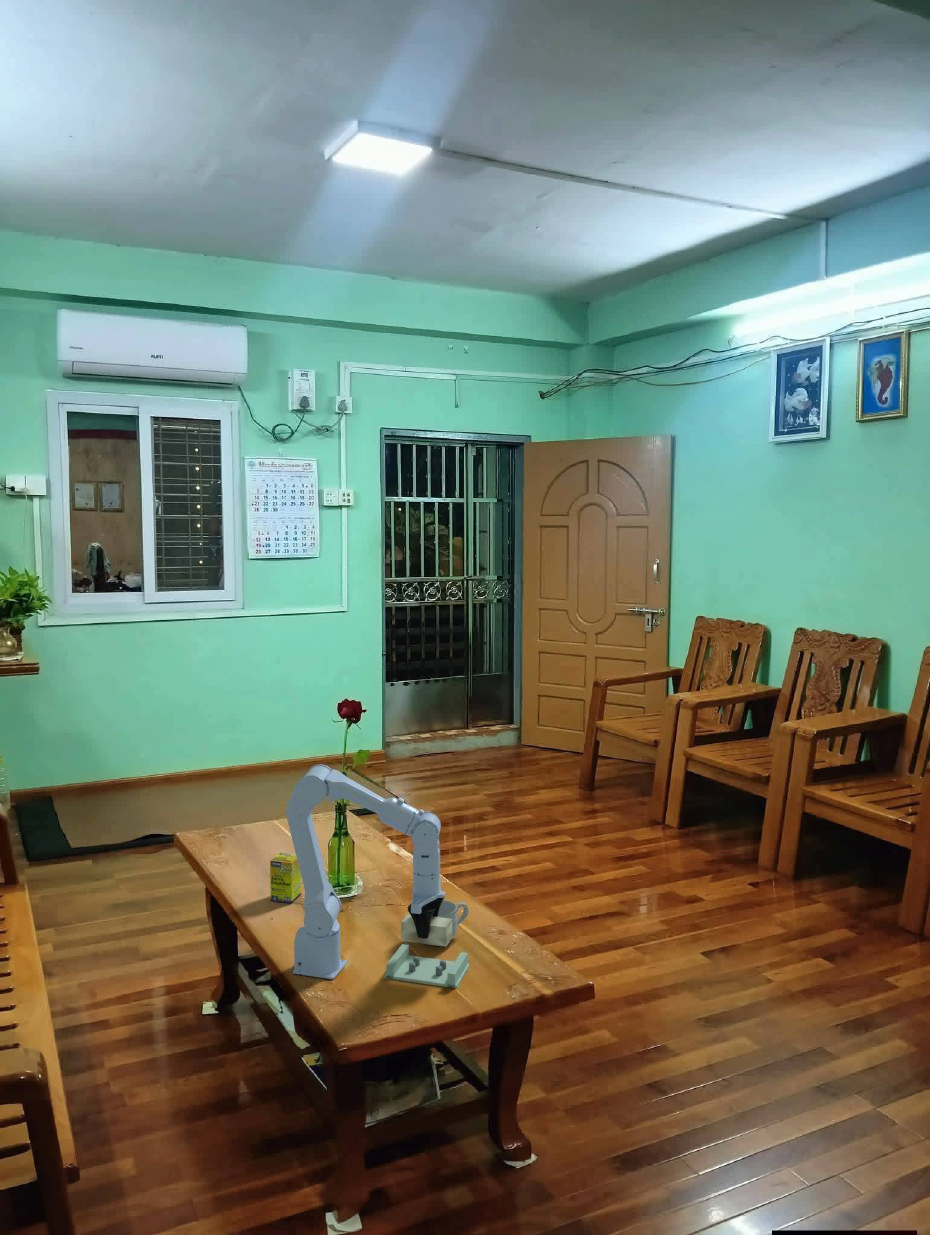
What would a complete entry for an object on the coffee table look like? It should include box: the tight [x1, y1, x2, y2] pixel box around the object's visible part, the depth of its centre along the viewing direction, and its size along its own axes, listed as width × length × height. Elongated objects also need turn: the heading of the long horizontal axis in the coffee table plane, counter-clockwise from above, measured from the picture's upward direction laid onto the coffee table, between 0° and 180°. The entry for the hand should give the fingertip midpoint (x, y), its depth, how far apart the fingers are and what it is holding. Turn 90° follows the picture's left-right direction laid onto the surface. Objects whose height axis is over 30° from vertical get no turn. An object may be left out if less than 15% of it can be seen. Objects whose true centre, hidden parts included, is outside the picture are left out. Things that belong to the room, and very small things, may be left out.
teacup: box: [425, 899, 470, 947], centre depth 217 cm, size 14×11×8 cm
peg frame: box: [383, 943, 471, 989], centre depth 201 cm, size 16×10×3 cm, turn 74°
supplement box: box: [269, 852, 302, 905], centre depth 239 cm, size 6×6×11 cm
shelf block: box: [400, 912, 453, 947], centre depth 200 cm, size 10×4×4 cm, turn 74°
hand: (426, 932), depth 200 cm, fingers closed on shelf block, 4 cm apart
